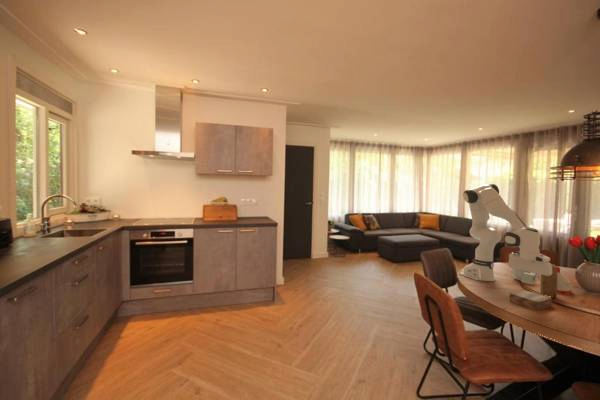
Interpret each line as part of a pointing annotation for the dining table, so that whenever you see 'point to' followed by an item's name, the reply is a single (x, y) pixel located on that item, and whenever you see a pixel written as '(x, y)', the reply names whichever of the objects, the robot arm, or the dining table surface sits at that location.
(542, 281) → the block
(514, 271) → the teacup
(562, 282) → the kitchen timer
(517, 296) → the walnut base block
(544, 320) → the dining table surface
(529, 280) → the sage cube
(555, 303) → the dining table surface
